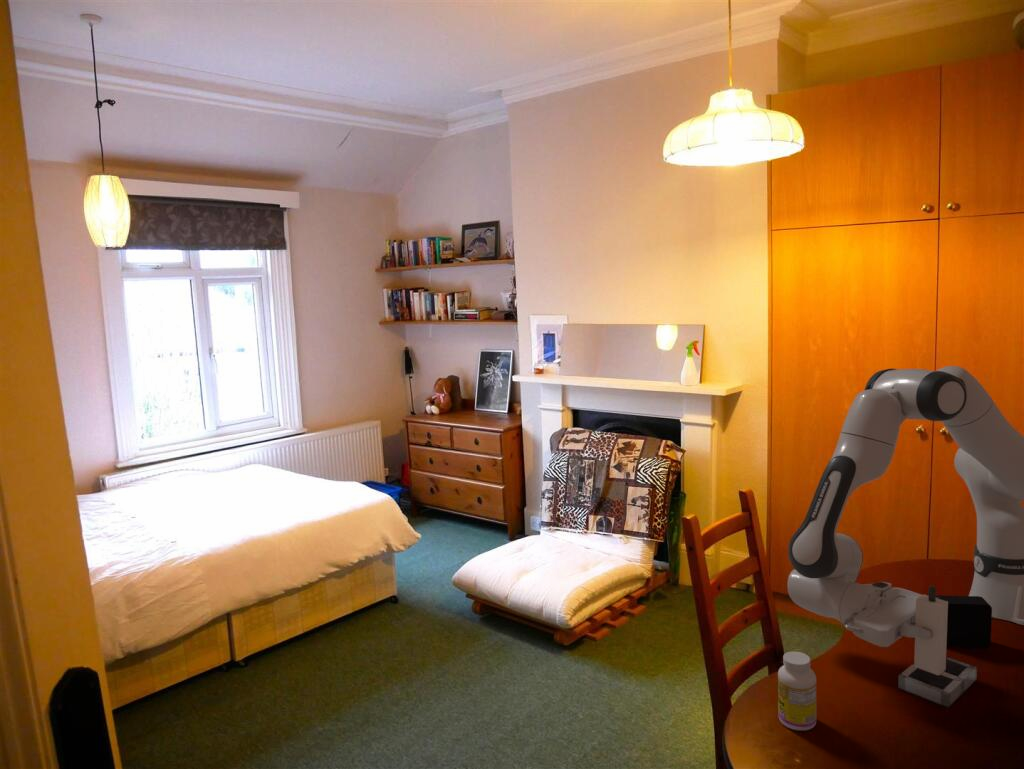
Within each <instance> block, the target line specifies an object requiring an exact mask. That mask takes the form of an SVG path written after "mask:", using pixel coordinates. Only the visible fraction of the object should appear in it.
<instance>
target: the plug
mask: <svg viewBox="0 0 1024 769" xmlns="http://www.w3.org/2000/svg"><path fill="white" fill-rule="evenodd" d="M936 596H937V588H936V586H935V585H934V584H933V585H929V587H928V595H927V594H921V596H920V597H919V598H917V599H916V622H915V627H920V628H921V627H926V628H929V629H931V630H932V631H933V633H932V637H931V638H930V639H929V640H925V639H922V638H914V662H913V663H914V667H917V668H919V669H922V670H925V671H928V672H930V673H933V674H936V675H938V676H939V675H940V674H941V673H943V672H944V671H945V670H946V657H947V647H946V645H947V618H948V601H944V600H941V599H937V598H936Z"/></svg>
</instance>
